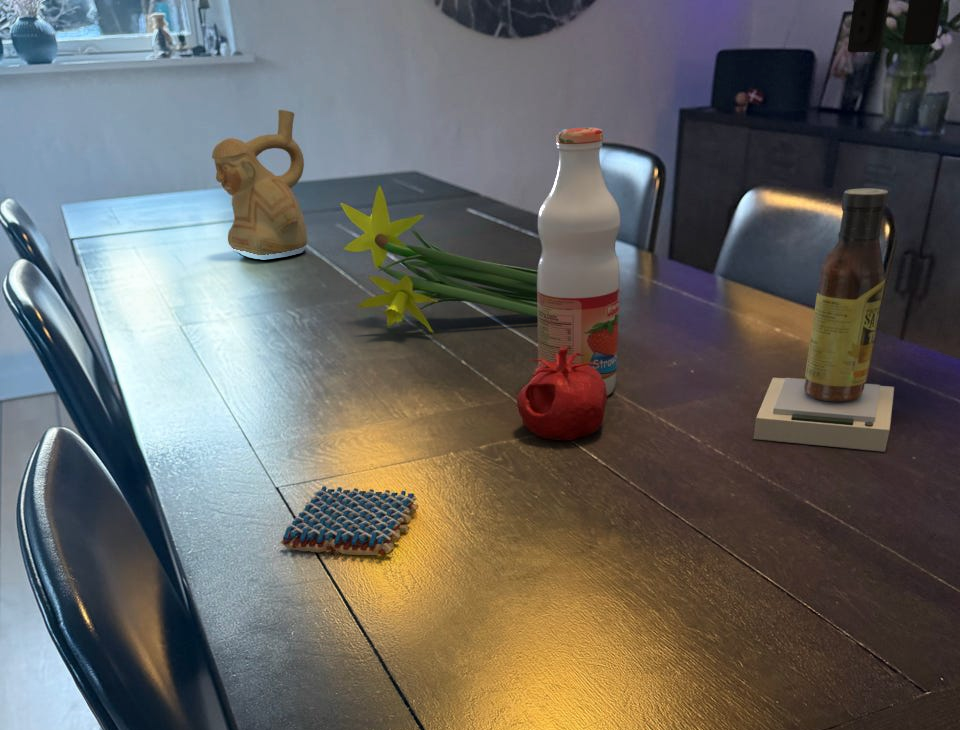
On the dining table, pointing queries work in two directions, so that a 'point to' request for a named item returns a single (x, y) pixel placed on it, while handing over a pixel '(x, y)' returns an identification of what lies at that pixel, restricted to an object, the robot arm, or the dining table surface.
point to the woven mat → (350, 522)
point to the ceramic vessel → (262, 192)
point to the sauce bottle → (848, 301)
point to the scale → (825, 417)
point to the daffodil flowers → (434, 271)
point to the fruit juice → (579, 259)
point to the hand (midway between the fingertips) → (892, 47)
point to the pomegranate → (563, 399)
